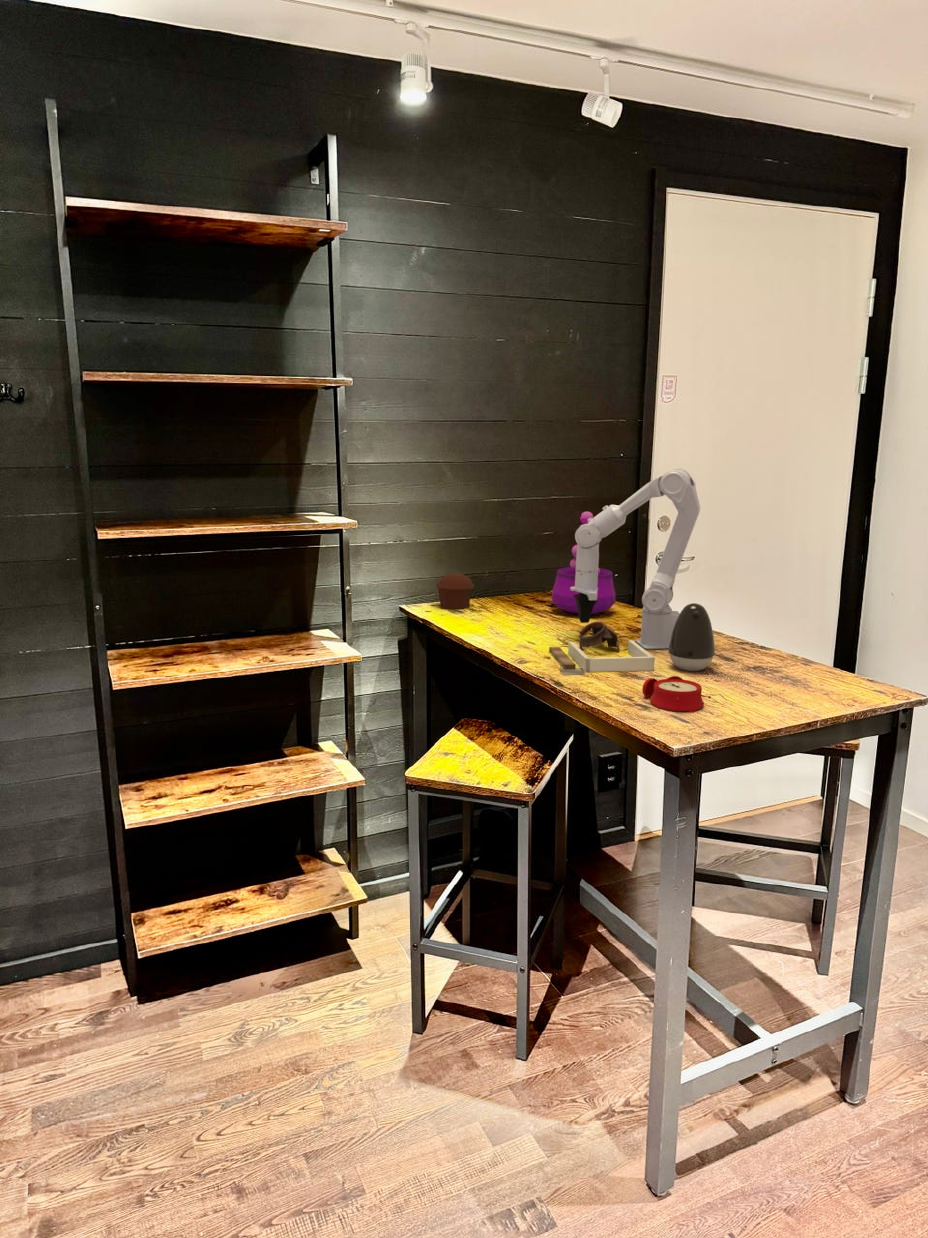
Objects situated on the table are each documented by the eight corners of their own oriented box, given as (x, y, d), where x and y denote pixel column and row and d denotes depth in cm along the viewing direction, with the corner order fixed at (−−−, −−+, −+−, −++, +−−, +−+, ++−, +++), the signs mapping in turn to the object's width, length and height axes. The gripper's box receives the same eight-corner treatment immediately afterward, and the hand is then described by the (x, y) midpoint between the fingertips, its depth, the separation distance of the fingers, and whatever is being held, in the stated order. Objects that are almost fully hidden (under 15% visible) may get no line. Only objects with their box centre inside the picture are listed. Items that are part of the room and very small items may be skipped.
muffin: (428, 607, 259) (428, 574, 256) (451, 601, 267) (451, 570, 265) (459, 612, 252) (459, 579, 249) (481, 606, 260) (482, 574, 258)
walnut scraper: (544, 653, 208) (544, 647, 208) (564, 652, 209) (564, 646, 209) (563, 676, 189) (563, 669, 189) (585, 675, 190) (585, 669, 189)
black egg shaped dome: (669, 673, 191) (674, 607, 188) (665, 661, 201) (669, 598, 198) (716, 675, 190) (721, 609, 186) (709, 663, 200) (714, 599, 197)
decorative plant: (549, 605, 263) (553, 507, 256) (610, 606, 262) (615, 508, 256) (553, 618, 245) (557, 514, 238) (618, 620, 244) (624, 515, 237)
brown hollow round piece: (624, 657, 206) (611, 630, 203) (588, 672, 209) (574, 645, 205) (619, 634, 217) (606, 607, 214) (585, 647, 219) (572, 622, 216)
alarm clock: (672, 699, 162) (634, 662, 175) (666, 727, 164) (629, 688, 177) (719, 694, 165) (678, 658, 178) (712, 721, 168) (673, 684, 181)
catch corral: (631, 652, 209) (632, 640, 208) (653, 670, 193) (654, 657, 193) (568, 653, 207) (568, 641, 206) (585, 672, 191) (585, 659, 191)
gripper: (564, 566, 225) (562, 616, 228) (578, 575, 211) (576, 628, 214) (590, 565, 226) (588, 615, 229) (606, 575, 212) (603, 628, 215)
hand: (584, 622), depth 222 cm, fingers closed
